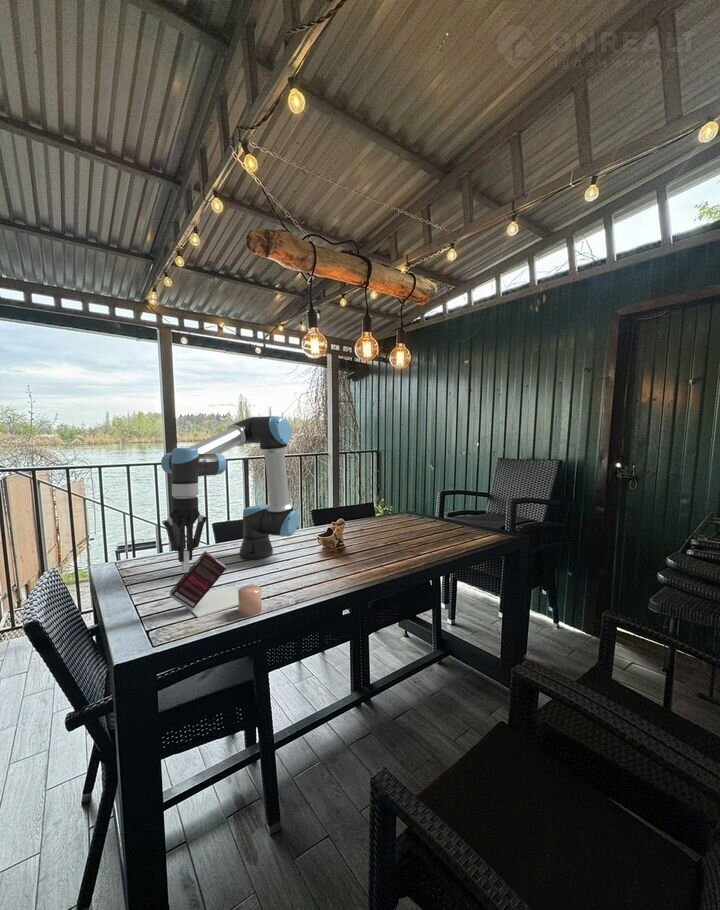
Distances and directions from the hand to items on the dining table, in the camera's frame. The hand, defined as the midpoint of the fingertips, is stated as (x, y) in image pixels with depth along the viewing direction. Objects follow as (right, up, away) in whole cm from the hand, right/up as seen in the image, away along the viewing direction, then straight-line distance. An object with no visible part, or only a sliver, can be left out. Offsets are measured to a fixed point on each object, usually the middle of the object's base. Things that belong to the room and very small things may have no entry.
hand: (185, 571), depth 116 cm
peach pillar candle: (+20, -13, +1) cm, 24 cm away
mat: (+7, -13, +7) cm, 16 cm away
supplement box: (-2, -10, 0) cm, 10 cm away
